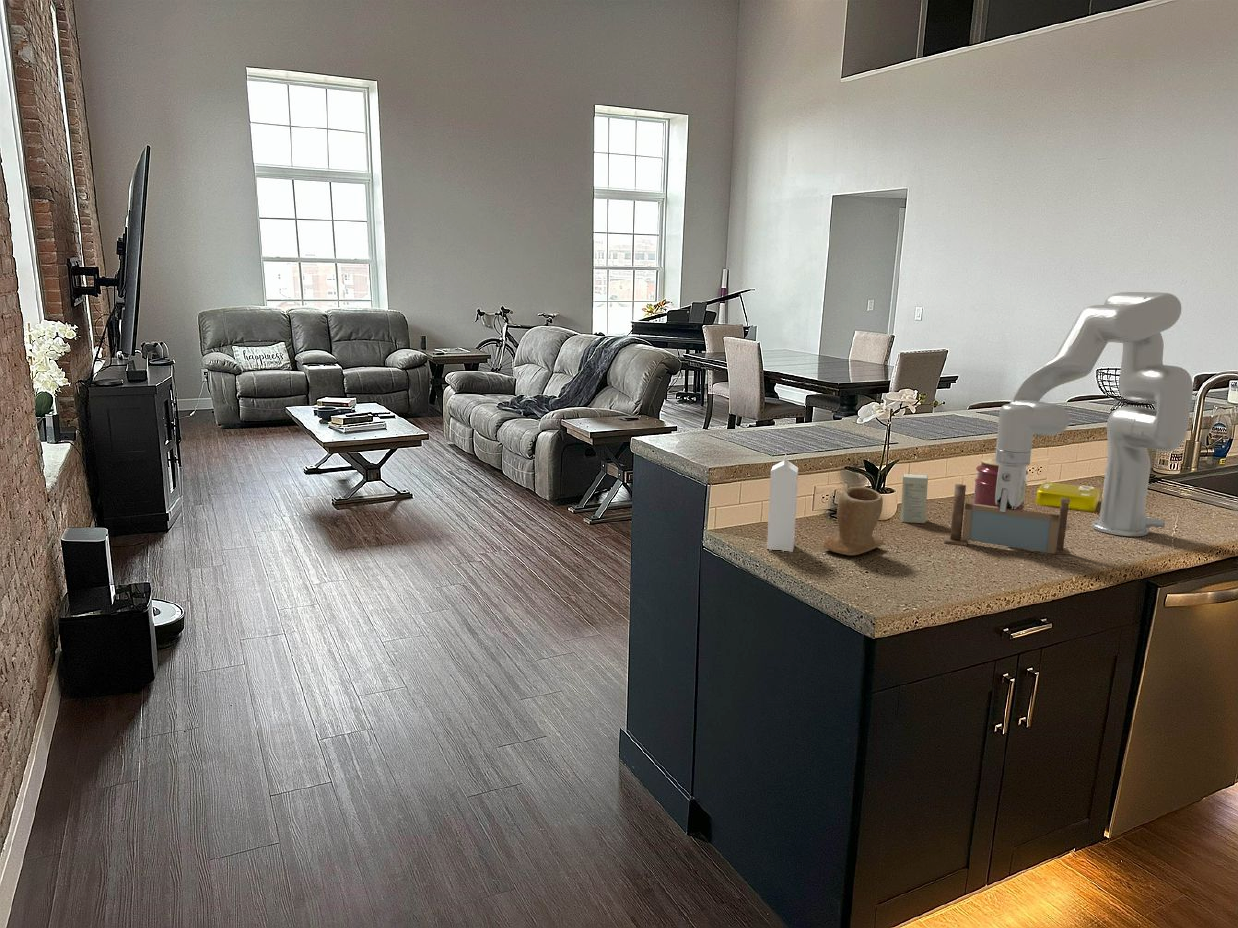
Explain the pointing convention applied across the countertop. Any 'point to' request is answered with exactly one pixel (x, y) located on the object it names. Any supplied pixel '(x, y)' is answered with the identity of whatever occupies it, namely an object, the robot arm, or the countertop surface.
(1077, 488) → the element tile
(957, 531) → the gate frame
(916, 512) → the skincare box
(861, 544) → the stone cup
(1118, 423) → the robot arm
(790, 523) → the milk
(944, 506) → the countertop surface
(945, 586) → the countertop surface
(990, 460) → the canister
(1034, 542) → the panel
